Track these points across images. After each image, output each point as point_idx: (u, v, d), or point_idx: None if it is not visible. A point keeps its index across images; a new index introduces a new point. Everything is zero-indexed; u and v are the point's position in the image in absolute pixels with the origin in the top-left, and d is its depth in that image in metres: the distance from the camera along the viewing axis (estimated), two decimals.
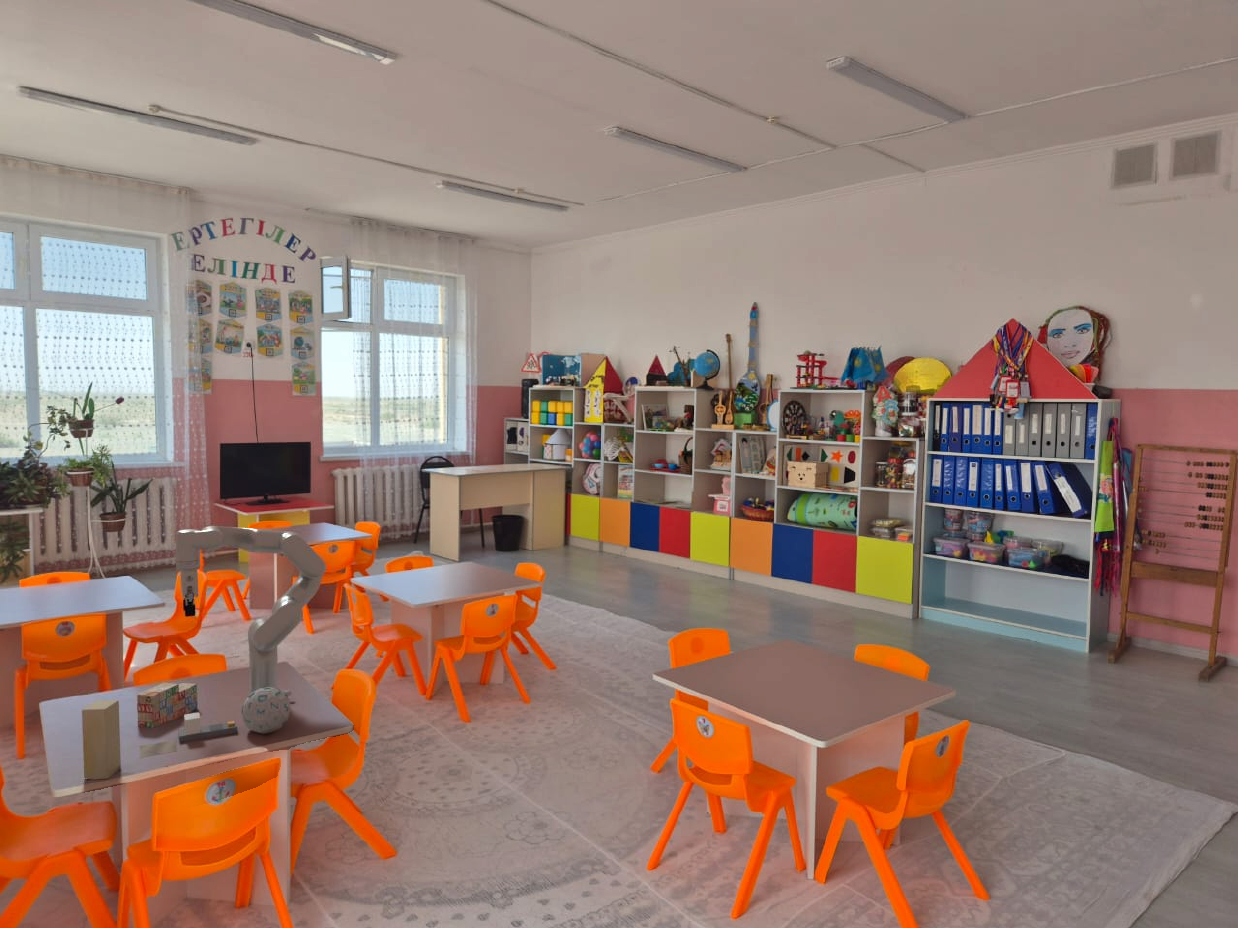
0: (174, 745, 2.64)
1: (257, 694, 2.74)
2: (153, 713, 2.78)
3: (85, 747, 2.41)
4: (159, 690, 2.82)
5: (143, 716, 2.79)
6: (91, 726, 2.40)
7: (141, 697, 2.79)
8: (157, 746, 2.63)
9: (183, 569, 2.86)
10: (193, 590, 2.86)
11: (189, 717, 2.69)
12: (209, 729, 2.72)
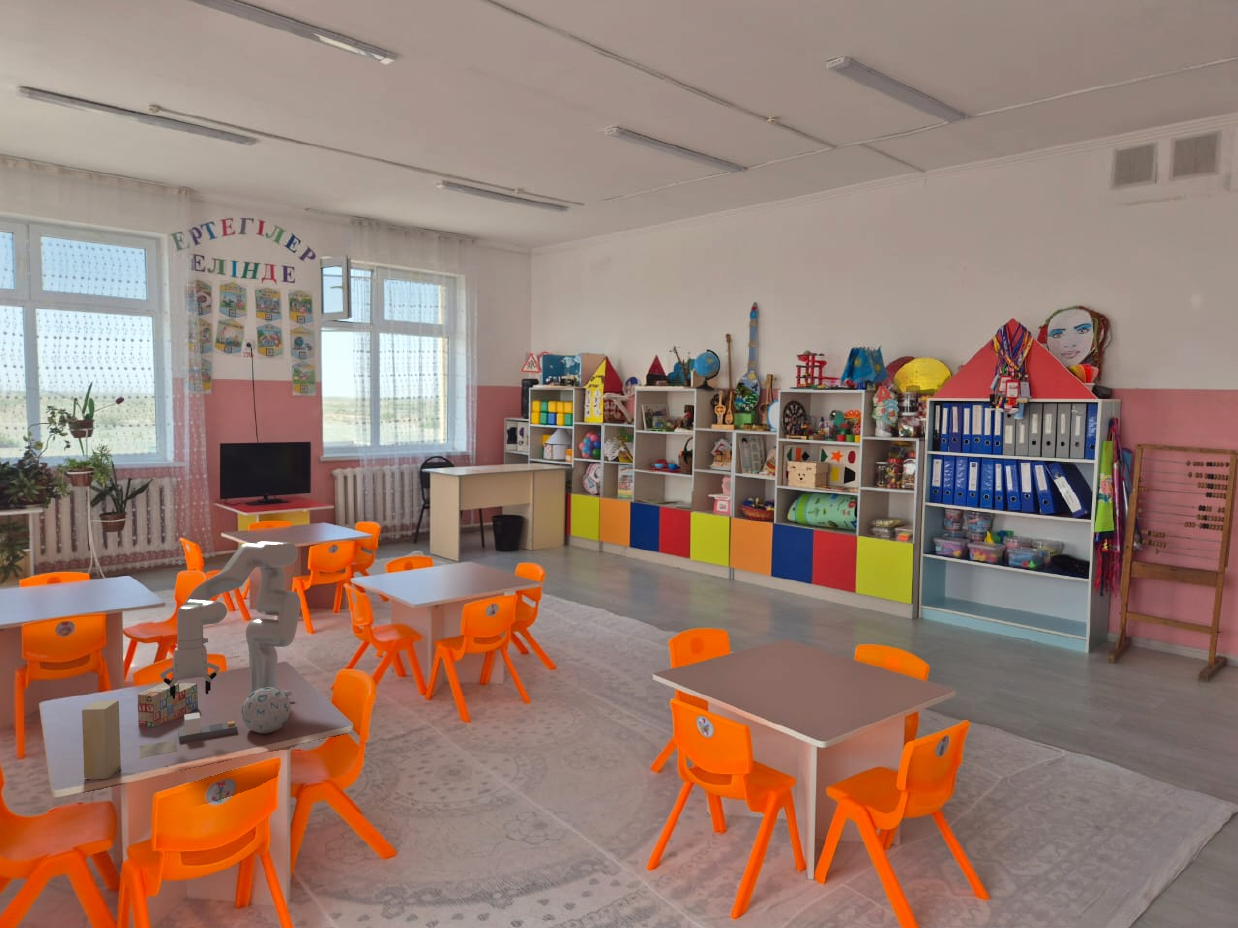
0: (174, 745, 2.64)
1: (257, 694, 2.74)
2: (153, 712, 2.78)
3: (85, 747, 2.41)
4: (160, 690, 2.83)
5: (143, 716, 2.79)
6: (91, 726, 2.40)
7: (142, 697, 2.79)
8: (157, 746, 2.63)
9: (201, 646, 2.69)
10: None
11: (189, 717, 2.69)
12: (209, 729, 2.72)
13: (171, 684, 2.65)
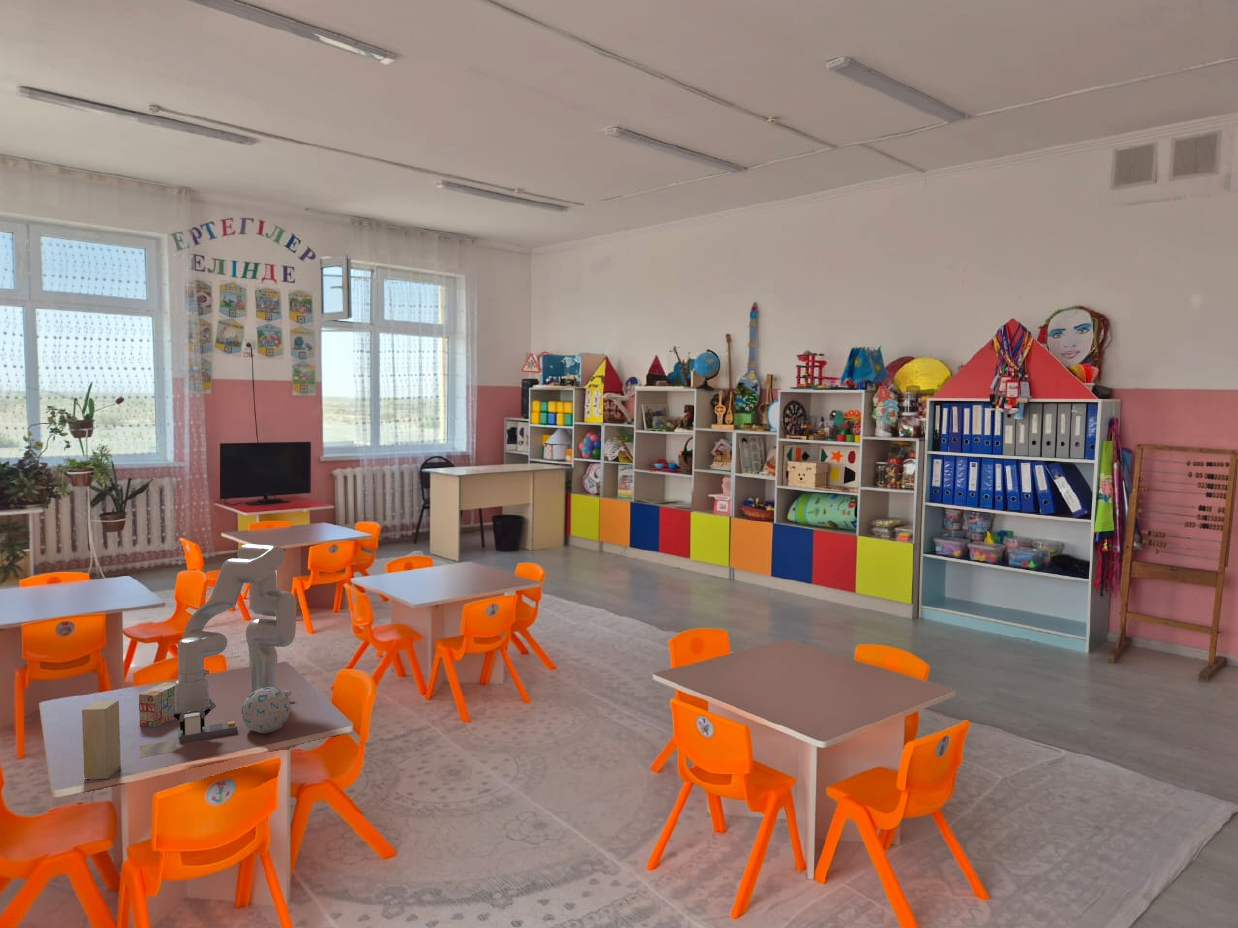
0: (174, 745, 2.64)
1: (257, 694, 2.74)
2: (155, 712, 2.79)
3: (85, 747, 2.41)
4: (161, 689, 2.83)
5: (145, 715, 2.79)
6: (91, 726, 2.40)
7: (143, 696, 2.79)
8: (157, 746, 2.63)
9: (203, 678, 2.70)
10: (208, 696, 2.74)
11: (189, 717, 2.69)
12: (209, 729, 2.72)
13: (181, 719, 2.68)
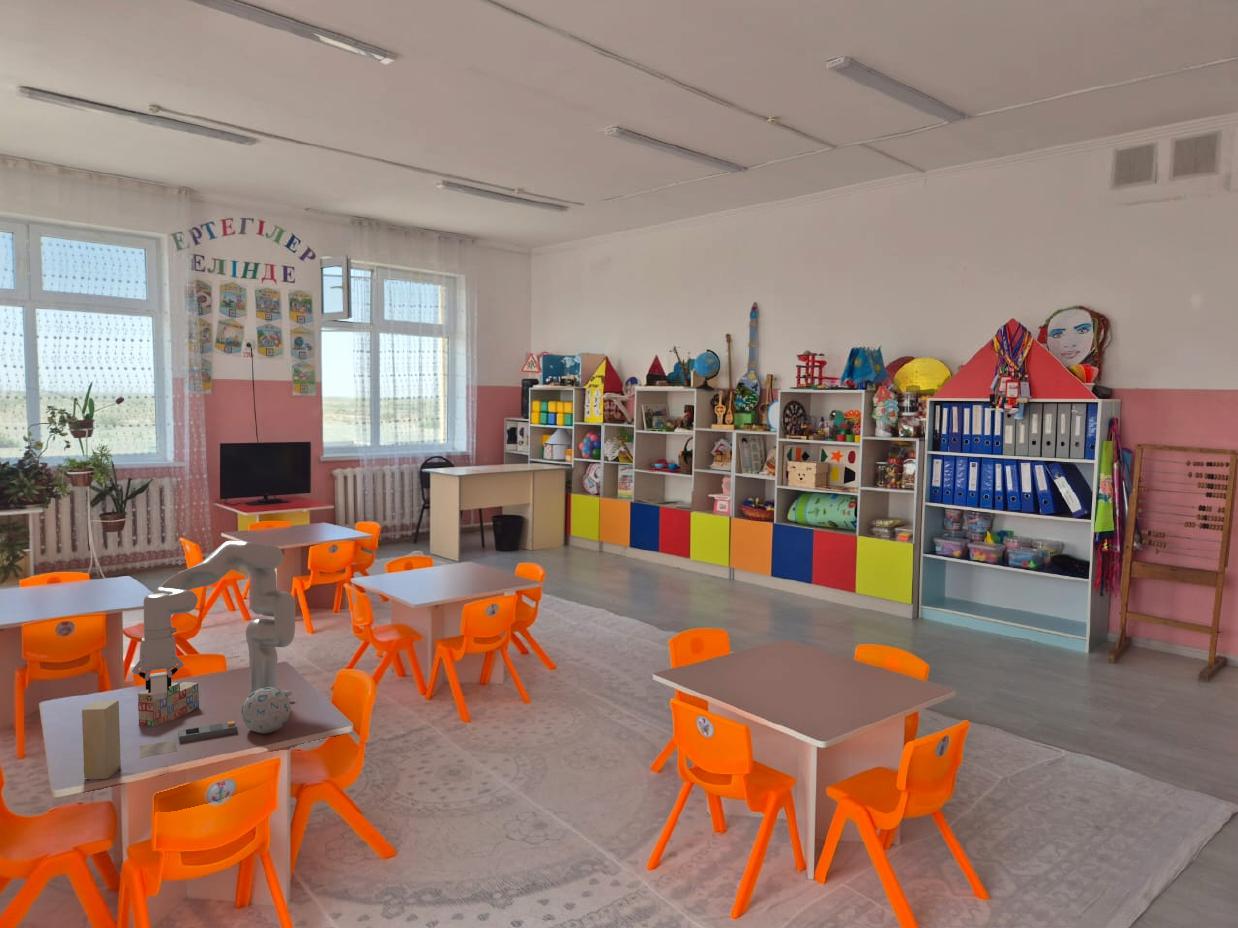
0: (174, 745, 2.64)
1: (257, 694, 2.74)
2: (153, 711, 2.79)
3: (85, 747, 2.41)
4: None
5: (143, 715, 2.80)
6: (91, 726, 2.40)
7: (142, 696, 2.80)
8: (157, 746, 2.63)
9: (169, 636, 2.60)
10: None
11: (155, 676, 2.59)
12: (209, 729, 2.72)
13: (146, 678, 2.58)
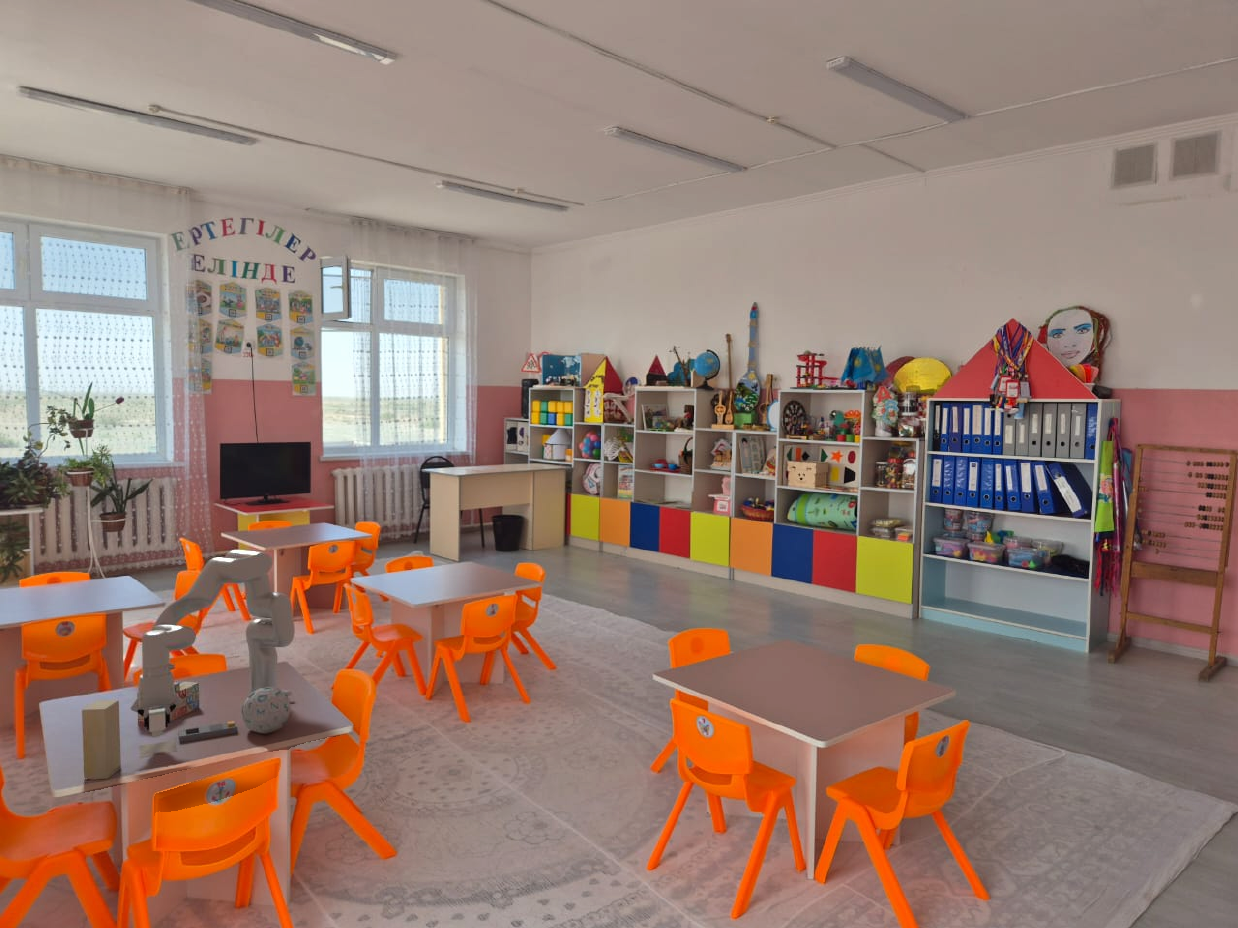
0: (174, 745, 2.64)
1: (257, 694, 2.74)
2: None
3: (85, 747, 2.41)
4: None
5: None
6: (91, 726, 2.40)
7: None
8: (157, 746, 2.63)
9: (168, 673, 2.60)
10: None
11: (153, 713, 2.59)
12: (209, 729, 2.72)
13: (145, 715, 2.58)
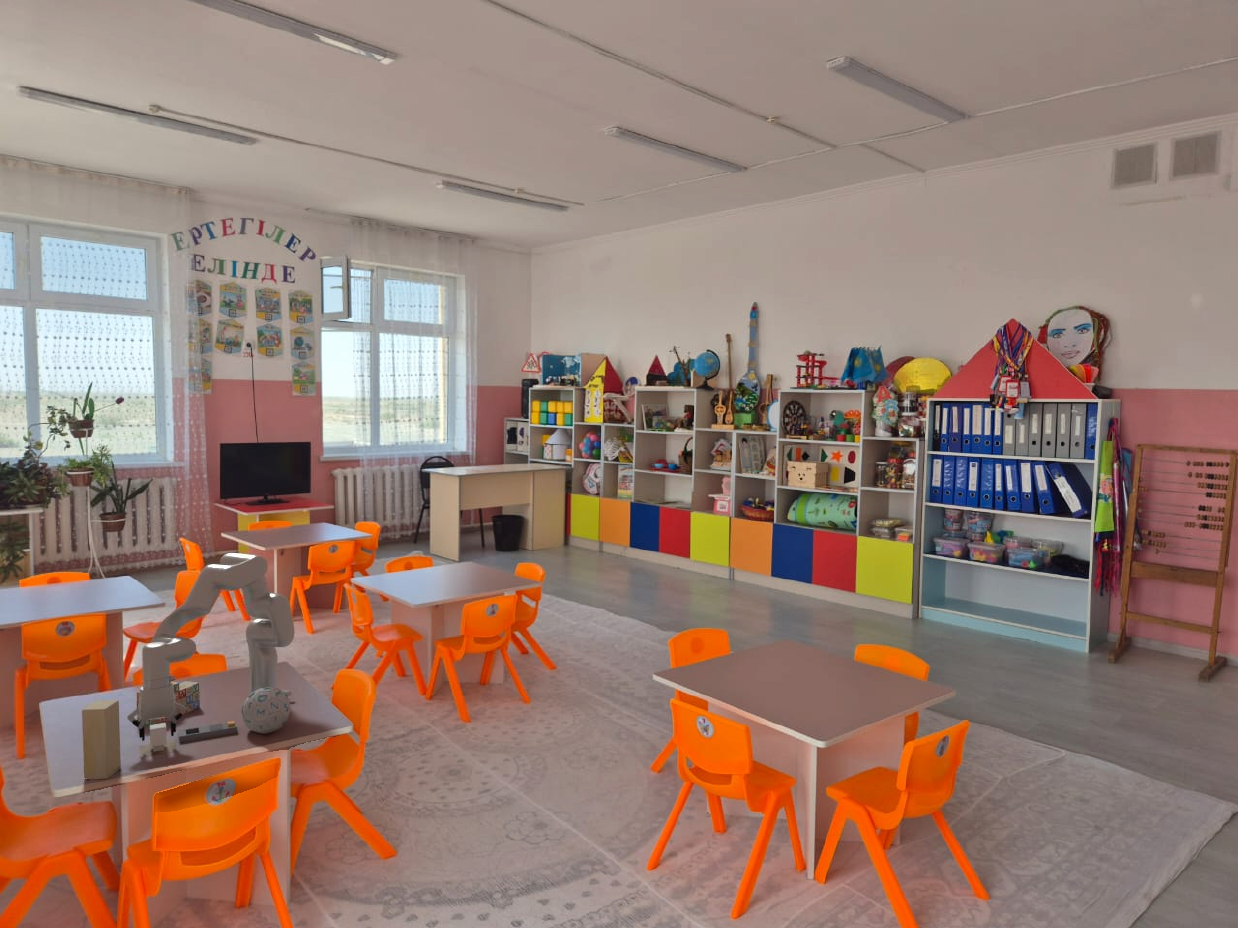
0: (174, 745, 2.64)
1: (257, 694, 2.74)
2: None
3: (85, 747, 2.41)
4: None
5: None
6: (91, 726, 2.40)
7: None
8: None
9: (168, 684, 2.60)
10: None
11: (154, 728, 2.60)
12: (209, 729, 2.72)
13: (140, 726, 2.57)
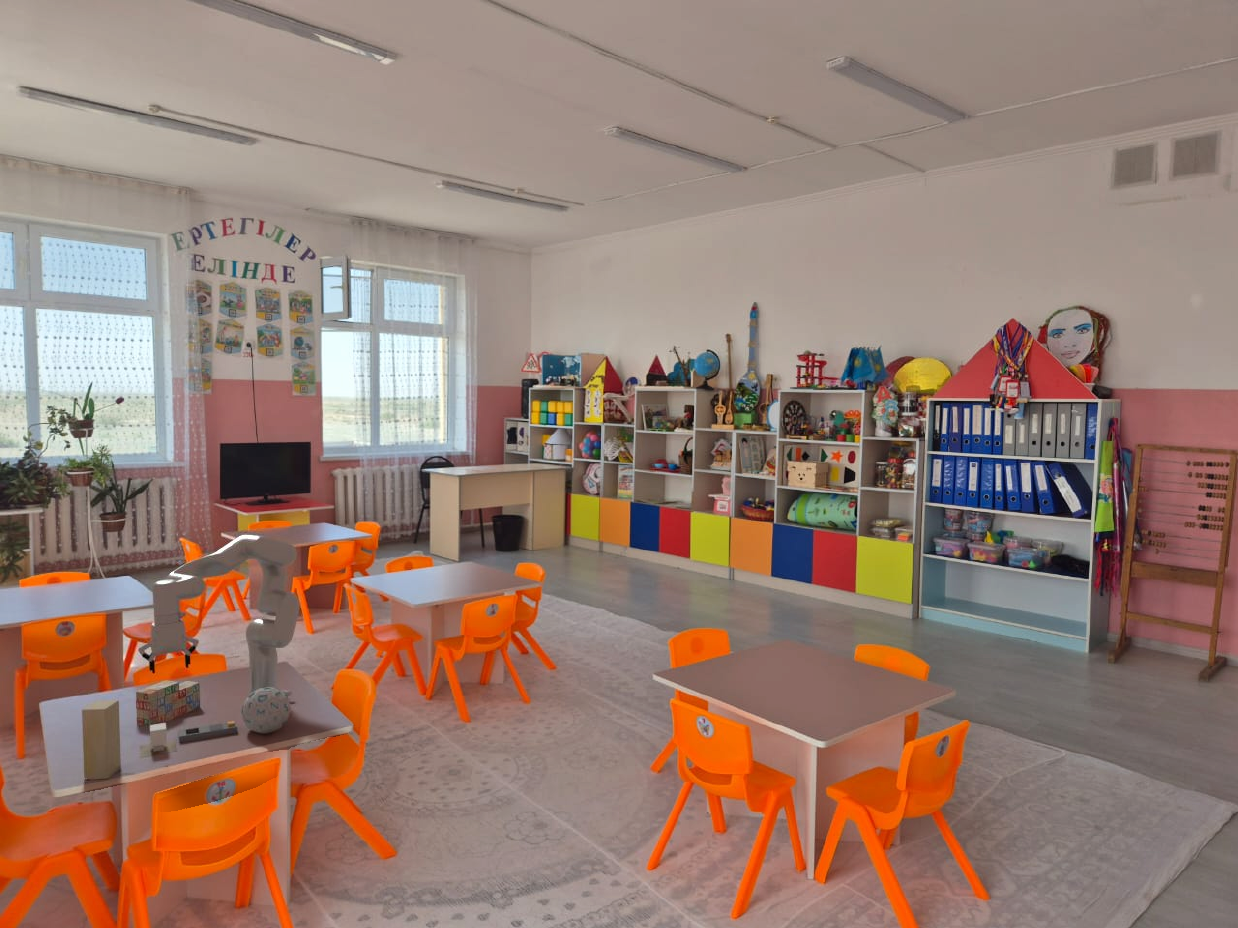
0: (174, 745, 2.64)
1: (257, 694, 2.74)
2: (150, 710, 2.80)
3: (85, 747, 2.41)
4: (158, 688, 2.85)
5: (141, 713, 2.82)
6: (91, 726, 2.40)
7: (139, 694, 2.81)
8: None
9: (179, 620, 2.68)
10: None
11: (154, 728, 2.60)
12: (209, 729, 2.72)
13: (150, 659, 2.65)
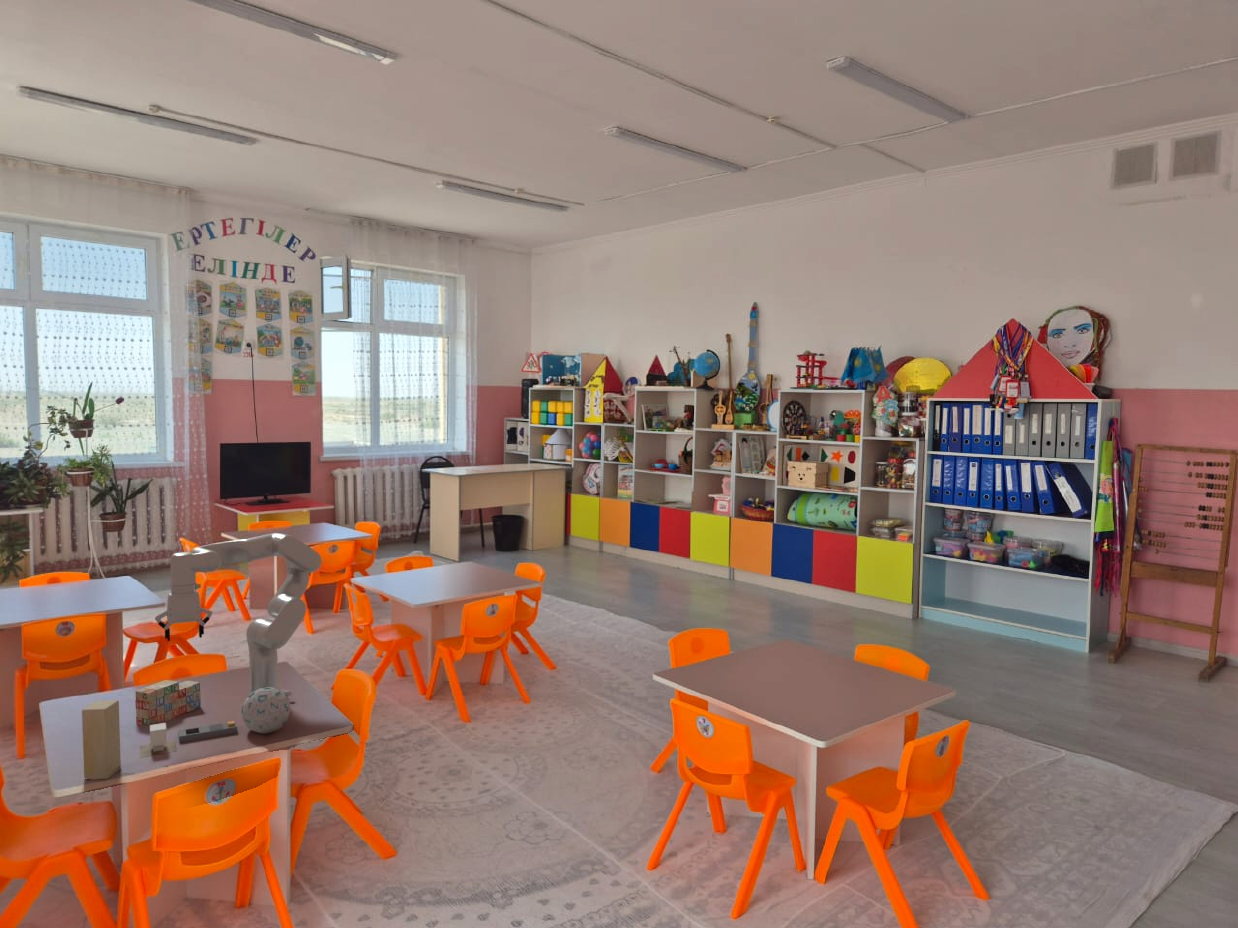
0: (174, 745, 2.64)
1: (257, 694, 2.74)
2: (148, 710, 2.81)
3: (85, 747, 2.41)
4: (157, 687, 2.85)
5: (140, 712, 2.82)
6: (91, 726, 2.40)
7: (139, 693, 2.82)
8: None
9: (194, 591, 2.80)
10: None
11: (154, 728, 2.60)
12: (209, 729, 2.72)
13: (166, 627, 2.77)
